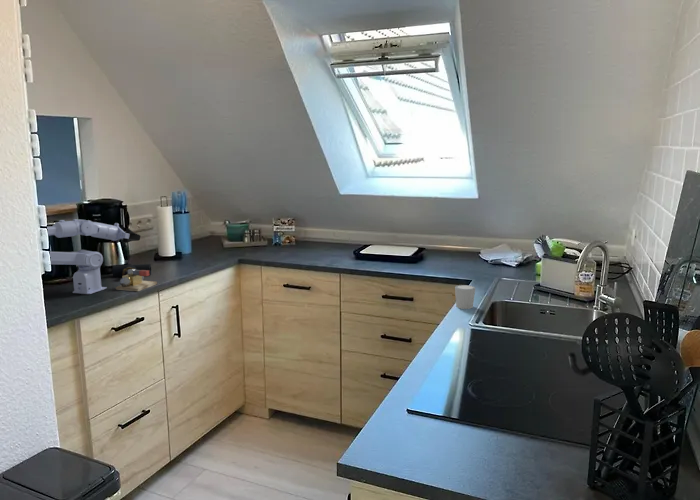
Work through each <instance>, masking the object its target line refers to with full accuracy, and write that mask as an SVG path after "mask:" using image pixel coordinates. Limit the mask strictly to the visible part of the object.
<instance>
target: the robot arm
mask: <svg viewBox="0 0 700 500" xmlns="http://www.w3.org/2000/svg"><path fill="white" fill-rule="evenodd" d="M46 227H47V229H48V236H49V237H51V236H55V237H56V238H58V239H59V238H60V239H61V238H68V237H76V236H79V235H81V236H86V237H87V236H91V237H92V238H98V239H104V240H111V241H113V242H116V241H120V240H122V243H126V244H128V243H130V242H137V241H140V240H141V235H140V234H138V233H136V232H133V231H132V230H131V229H130V228H125V229H126V230H124V229H123V228H121V227H120V224H119V223H118V222H115V223H114V224H107V223H103V222H97V221H92V220H89V219H88V220H86V219H80V218H79V219H77V218H73V219H72V220H66V221H65V219H59V221H55V223H54V224H53V225H52V226H51V225H50V226H49V225H48V226H46ZM48 236H47V237H48ZM49 252H50V257H51V264H50V265H66V266H67V265H70V266H71V265H72V266H73V265H74V266H78V270H77V271H76V272H74V273H73V276H72V280H73V291H72V293H73V294H79V295H80V294H81V295H92V294H95V293H99V292H101V291H103V290H106V289H107V288H108V287H107V286H102V279H101V276H102V275H101V266H102V264H103V262H104V257H103V255H102V253H101V252H99V251H92V250H87V249H78V250H77V251H49Z"/></svg>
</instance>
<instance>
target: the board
mask: <svg viewBox="0 0 700 500" xmlns="http://www.w3.org/2000/svg"><path fill="white" fill-rule="evenodd" d="M156 285H158V281H153V280H143V281H142V283H140V284H137V285H134V286H126V287H123V286H121V284H120V285H118V286H117V285H116V286H115V290H117V291H127V292H128V291H130V292H140V291H142V290H145V289H148V288H151V287H154V286H156Z"/></svg>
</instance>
